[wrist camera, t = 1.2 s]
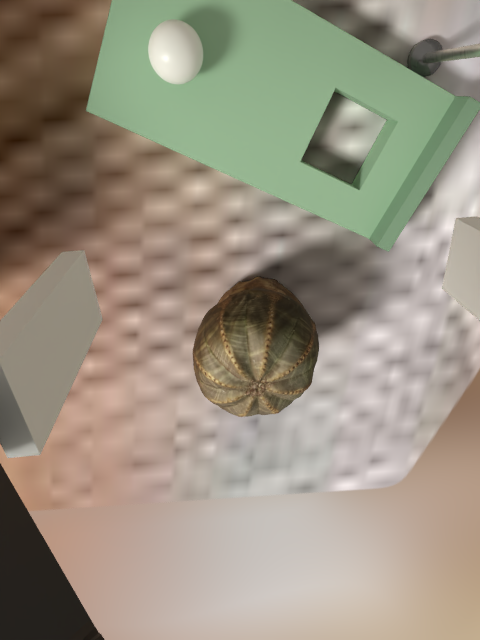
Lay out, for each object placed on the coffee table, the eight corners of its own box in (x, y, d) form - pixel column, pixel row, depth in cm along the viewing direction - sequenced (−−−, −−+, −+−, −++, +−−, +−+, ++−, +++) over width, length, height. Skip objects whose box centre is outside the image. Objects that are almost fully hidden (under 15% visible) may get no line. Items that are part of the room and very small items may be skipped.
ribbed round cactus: (205, 255, 39) (200, 317, 28) (316, 274, 40) (351, 339, 30) (189, 351, 44) (181, 433, 33) (289, 364, 45) (310, 446, 35)
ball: (145, 70, 29) (136, 68, 26) (162, 12, 27) (154, 3, 24) (193, 93, 30) (190, 94, 27) (211, 39, 28) (211, 33, 25)
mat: (94, 109, 32) (77, 112, 28) (140, -78, 27) (127, -106, 23) (371, 235, 38) (388, 251, 34) (452, 102, 33) (482, 104, 29)
